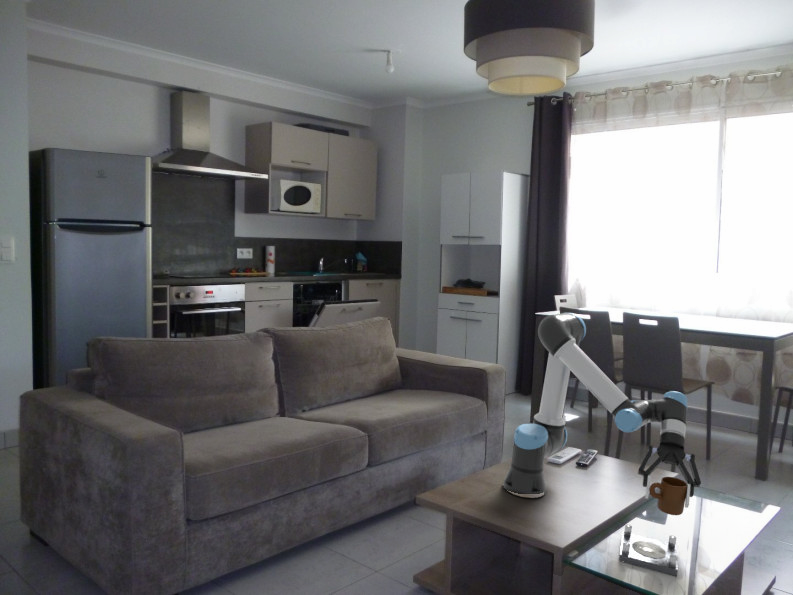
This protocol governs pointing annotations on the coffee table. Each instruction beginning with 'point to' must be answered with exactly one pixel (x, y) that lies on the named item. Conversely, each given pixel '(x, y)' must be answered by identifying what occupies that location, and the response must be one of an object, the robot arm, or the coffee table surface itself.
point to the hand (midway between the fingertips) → (666, 501)
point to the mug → (670, 495)
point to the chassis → (649, 552)
